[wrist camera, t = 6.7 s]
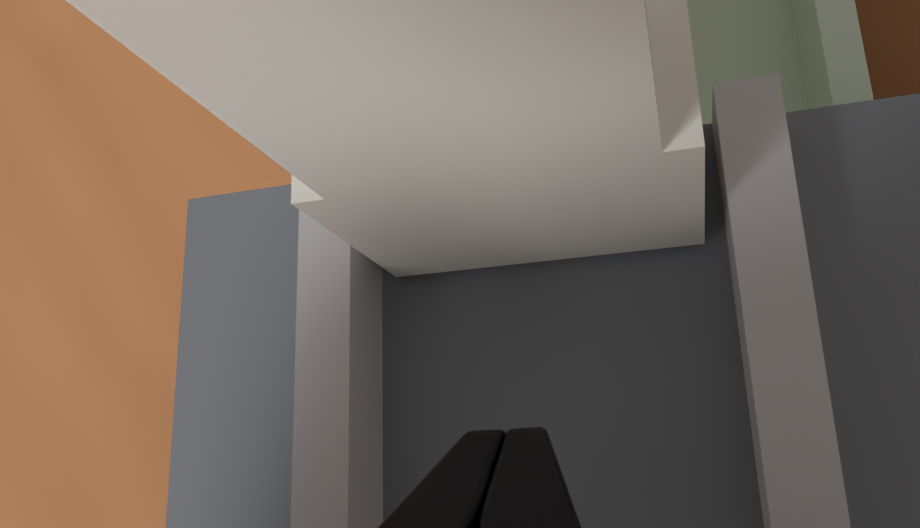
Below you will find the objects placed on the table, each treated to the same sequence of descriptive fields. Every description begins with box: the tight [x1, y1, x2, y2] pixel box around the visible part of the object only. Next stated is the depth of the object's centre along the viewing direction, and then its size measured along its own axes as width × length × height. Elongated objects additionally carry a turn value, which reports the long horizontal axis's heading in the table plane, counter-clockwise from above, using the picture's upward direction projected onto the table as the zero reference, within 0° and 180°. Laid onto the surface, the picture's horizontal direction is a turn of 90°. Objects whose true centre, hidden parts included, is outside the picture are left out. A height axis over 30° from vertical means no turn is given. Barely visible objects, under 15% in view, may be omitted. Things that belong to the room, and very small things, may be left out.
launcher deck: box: [166, 73, 920, 528], centre depth 12 cm, size 8×12×6 cm, turn 92°
